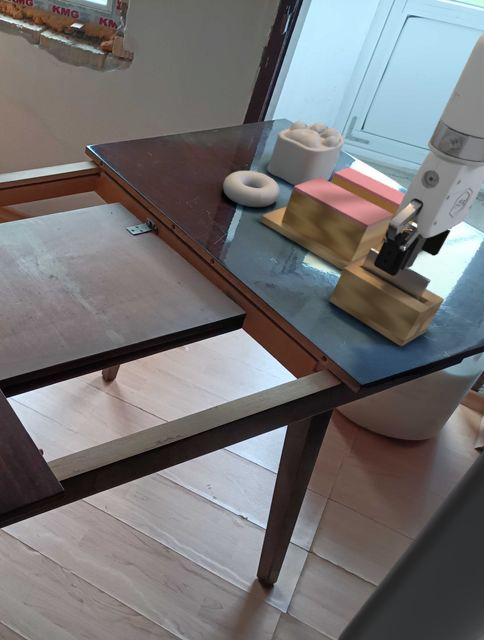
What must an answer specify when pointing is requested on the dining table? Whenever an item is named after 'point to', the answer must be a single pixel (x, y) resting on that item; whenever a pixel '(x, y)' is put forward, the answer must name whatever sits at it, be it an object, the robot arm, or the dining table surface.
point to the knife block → (384, 304)
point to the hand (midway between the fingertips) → (405, 260)
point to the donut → (251, 188)
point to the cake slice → (369, 190)
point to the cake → (330, 222)
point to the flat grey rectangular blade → (402, 270)
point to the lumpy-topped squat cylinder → (305, 152)
